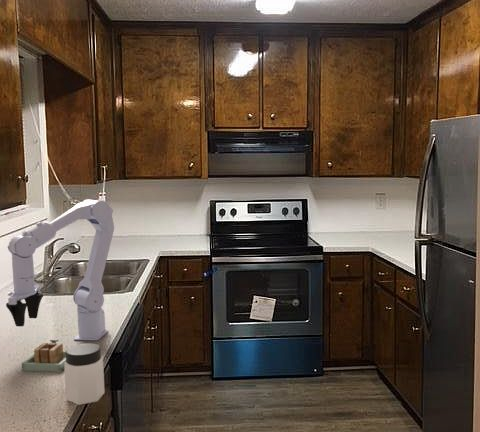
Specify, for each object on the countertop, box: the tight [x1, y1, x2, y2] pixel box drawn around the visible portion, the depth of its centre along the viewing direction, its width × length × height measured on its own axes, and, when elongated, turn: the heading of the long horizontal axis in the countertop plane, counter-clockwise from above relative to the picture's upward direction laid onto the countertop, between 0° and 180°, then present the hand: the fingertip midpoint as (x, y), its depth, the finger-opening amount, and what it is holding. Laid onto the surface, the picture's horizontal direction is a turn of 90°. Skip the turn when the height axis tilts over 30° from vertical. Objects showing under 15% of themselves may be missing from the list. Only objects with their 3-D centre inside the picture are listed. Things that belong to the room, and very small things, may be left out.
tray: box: [21, 350, 66, 373], centre depth 151 cm, size 10×11×2 cm
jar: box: [64, 342, 105, 406], centre depth 130 cm, size 9×8×12 cm
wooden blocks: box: [33, 342, 64, 364], centre depth 151 cm, size 6×7×4 cm
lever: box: [49, 339, 59, 343], centre depth 161 cm, size 2×2×3 cm
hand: (26, 321), depth 159 cm, fingers open, 7 cm apart
